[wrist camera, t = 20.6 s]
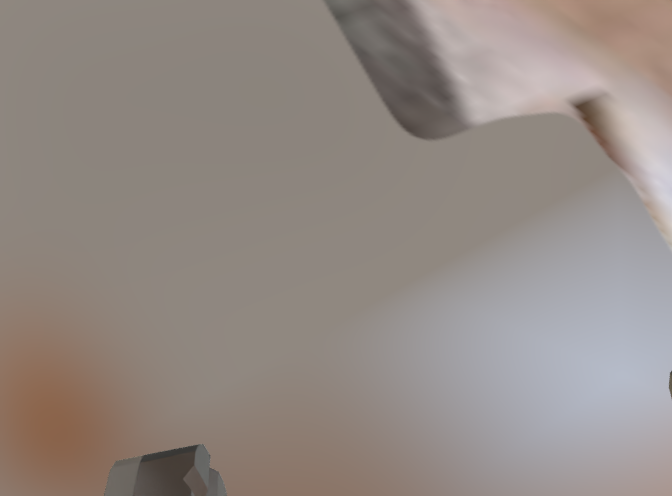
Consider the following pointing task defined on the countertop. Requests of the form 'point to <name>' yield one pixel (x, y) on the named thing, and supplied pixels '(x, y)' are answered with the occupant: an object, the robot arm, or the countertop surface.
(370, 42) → the countertop surface
